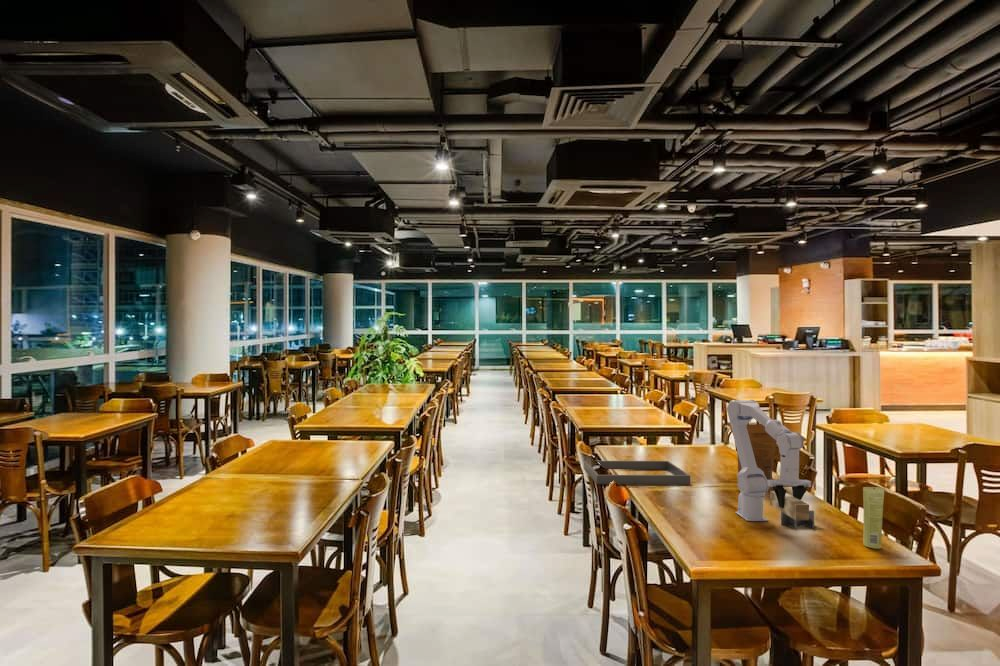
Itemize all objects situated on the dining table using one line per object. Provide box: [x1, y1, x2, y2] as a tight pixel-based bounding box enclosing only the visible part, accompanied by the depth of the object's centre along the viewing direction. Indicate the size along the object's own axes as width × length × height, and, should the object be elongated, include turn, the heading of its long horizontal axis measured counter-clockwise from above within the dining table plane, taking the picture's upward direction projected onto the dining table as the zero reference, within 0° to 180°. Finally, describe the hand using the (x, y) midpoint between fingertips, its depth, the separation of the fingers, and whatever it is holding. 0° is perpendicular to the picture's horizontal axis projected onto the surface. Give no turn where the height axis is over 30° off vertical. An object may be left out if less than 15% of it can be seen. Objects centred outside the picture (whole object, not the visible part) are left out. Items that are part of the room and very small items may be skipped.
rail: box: [769, 490, 810, 520], centre depth 194 cm, size 16×4×5 cm, turn 3°
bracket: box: [780, 510, 815, 530], centre depth 202 cm, size 5×12×5 cm, turn 93°
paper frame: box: [583, 460, 691, 485], centre depth 268 cm, size 28×43×4 cm, turn 93°
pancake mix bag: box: [736, 423, 777, 483], centre depth 258 cm, size 7×19×28 cm, turn 88°
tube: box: [862, 486, 885, 550], centre depth 185 cm, size 6×5×20 cm
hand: (788, 507), depth 194 cm, fingers closed on rail, 4 cm apart
